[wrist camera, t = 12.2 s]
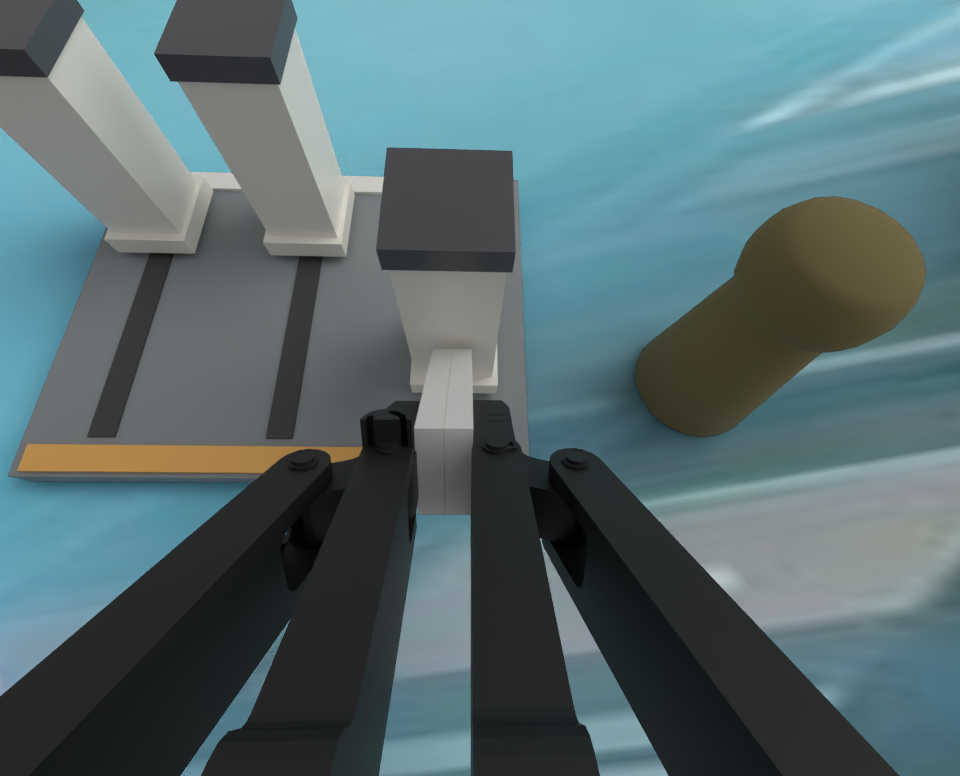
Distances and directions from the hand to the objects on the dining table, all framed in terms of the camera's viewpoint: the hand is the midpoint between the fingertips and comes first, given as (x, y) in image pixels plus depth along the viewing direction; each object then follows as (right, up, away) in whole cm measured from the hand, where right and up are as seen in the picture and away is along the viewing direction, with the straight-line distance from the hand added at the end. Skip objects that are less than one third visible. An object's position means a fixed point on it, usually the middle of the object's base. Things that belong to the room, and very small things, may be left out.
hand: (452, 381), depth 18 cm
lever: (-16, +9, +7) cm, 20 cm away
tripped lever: (0, +2, +4) cm, 5 cm away
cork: (+12, 0, +6) cm, 14 cm away
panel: (-8, +4, +7) cm, 11 cm away
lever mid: (-8, +9, +7) cm, 14 cm away
